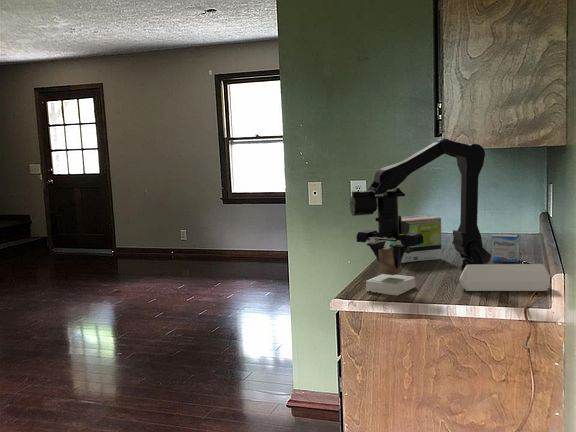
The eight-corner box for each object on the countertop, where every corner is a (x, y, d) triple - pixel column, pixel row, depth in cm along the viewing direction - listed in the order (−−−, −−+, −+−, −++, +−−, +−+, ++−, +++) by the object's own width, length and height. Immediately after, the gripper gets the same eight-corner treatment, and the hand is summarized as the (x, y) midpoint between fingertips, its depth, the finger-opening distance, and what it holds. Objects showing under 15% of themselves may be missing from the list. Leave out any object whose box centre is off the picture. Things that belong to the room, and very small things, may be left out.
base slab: (415, 287, 171) (414, 276, 171) (397, 295, 163) (396, 284, 163) (384, 283, 177) (384, 272, 177) (366, 291, 170) (365, 280, 169)
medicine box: (491, 261, 197) (491, 236, 196) (494, 259, 201) (493, 233, 199) (517, 263, 193) (517, 236, 192) (519, 260, 197) (518, 234, 196)
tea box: (402, 264, 201) (401, 220, 199) (389, 258, 211) (388, 217, 209) (442, 259, 205) (441, 216, 203) (428, 254, 215) (427, 213, 213)
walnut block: (401, 271, 170) (400, 247, 169) (393, 275, 167) (392, 250, 166) (387, 270, 173) (386, 246, 172) (379, 273, 170) (378, 249, 169)
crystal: (460, 280, 161) (556, 280, 155) (458, 262, 166) (551, 261, 161) (459, 300, 165) (553, 300, 159) (458, 282, 171) (548, 281, 165)
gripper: (431, 210, 168) (433, 264, 170) (374, 208, 180) (377, 259, 182) (412, 216, 159) (414, 273, 161) (354, 213, 171) (356, 266, 173)
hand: (390, 267), depth 170 cm, fingers closed on walnut block, 4 cm apart
